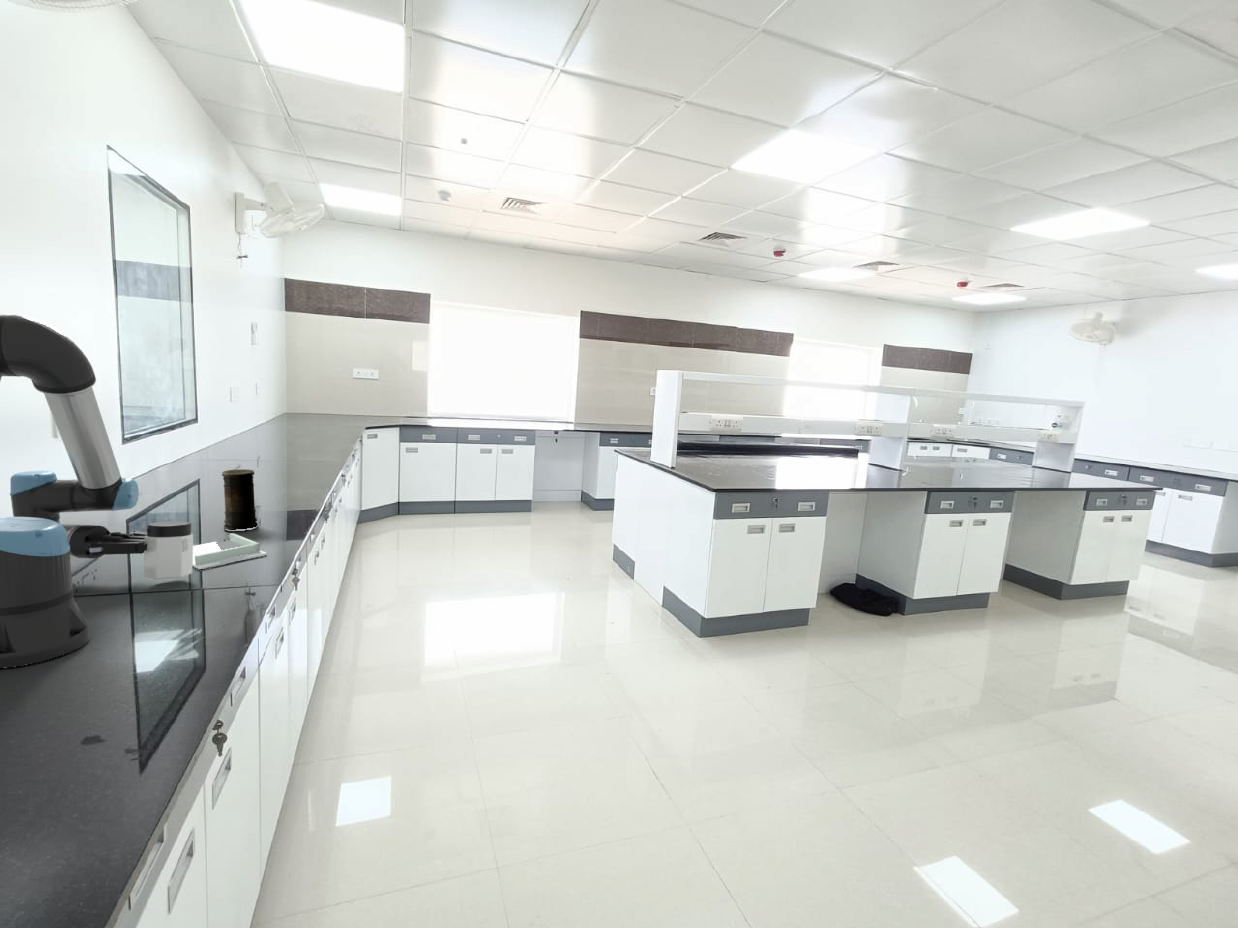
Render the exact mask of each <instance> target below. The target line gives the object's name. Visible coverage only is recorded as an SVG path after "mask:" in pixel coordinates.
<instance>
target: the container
mask: <svg viewBox="0 0 1238 928" xmlns="http://www.w3.org/2000/svg"><path fill="white" fill-rule="evenodd" d="M254 475H255V471H254V470H253V469H242V468H241V469H227V470H224V471H222V472H221V476H222V477H223V478H222V479H223V489H224V490H223V493H224V494H223V495H224V521H223V523H224V525H223V530H224V529H228V530H236V529H247V528H253V527H256V526H257V525H259V524H258V522H257V521H258V519H257V517H256V516H257V515H256V508H255V507H256V506H255V504H256V503H255V484H254V477H255V476H254ZM257 527H258V526H257Z"/></svg>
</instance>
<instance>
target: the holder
mask: <svg viewBox="0 0 1238 928" xmlns="http://www.w3.org/2000/svg"><path fill="white" fill-rule="evenodd" d="M228 536H229V538H228V539H230V541H233V542H235V543H238V544H240V545H242V546H240V547H235V548H230V549H225V550H221V549H220V547H219V546H218V544H216V543H217V542H216V541H212V542H207V543H202V544H197V545H196V544H195V545H193V566H194V567H196V568H198V569H202V568H206V567H209V566H212V565H215V564H219V563H220V562H219V561H226V558H230V557H234V556H240V555H245V554H248V556H247V557H251V556H258V555H264V554H267V555H268V553H267V552H266V551H263V550H261V543H260V542H256V541H254V540H251V539H250V538H246V537H244V536H241V535H239V534H237V533H235V532H231V533H228ZM249 554H250V555H249ZM244 558H246V555H245V557H244Z"/></svg>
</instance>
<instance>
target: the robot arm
mask: <svg viewBox="0 0 1238 928" xmlns="http://www.w3.org/2000/svg"><path fill="white" fill-rule="evenodd" d="M2 377H24V378H28V379H29V380H30V381H31V382H32V385H33V387H34V389H35V390H36V391H38V392H40V393H42V394H43V395H44V398H45V400H46V402H47V405H48V407H49V410H50V413H51V415H52V418H53V421H54V423H55V425H56V427H57V431H58V432H59V435H60V438H61V441H62V443H63V445H64V448H65V451H66V454H67V455H68V459H69V461H70V463H71V466H72V468H73V471H74V473H75V477H76V478H77V479H58V477H57V474H56V473H55V472H54V471H51V470H50V471H49V470H33V471H32V470H31V471H22V472H17V473H14V474H13V475H12V476H11V477H10V479H9V480H10V482H9V483H10V493H9V496H10V501H11V508H12V516H6V517H0V668H4V667H14V666H21V667H23V666H22V665H25V664H31V663H36V664H38V663H37V662H40V663H42V662H41V661H44V662H46V661H45V660H48V661H50V660H49V659H51V660H53V659H52V658H54V659H56V658H55V657H57V658H59V657H58V656H60V657H62V656H61V655H63V654H66V653H68V654H70V653H72V652H71V651H73V650H75V649H77V650H79V649H81V648H82V647H83V646H85V645H86V644H87V643H88V642H89V641H90V639H91V630H90V629H91V628H90V624H89V623H88V621H87V619H86V618H85V615H84V614H83V613H82V611H81V609H80V607H79V606H78V604H77V602H76V601H75V598H74V589H73V587H74V586H73V578H72V566H71V561H72V560H73V559H76V558H78V559H98V558H101V557H103V556H105V555H130V554H131V555H132V554H133V555H134V554H135V555H137V554H138V555H139V554H141V555H142V554H144V551H145V550H147V544H146V543H144V542H145V541H144V540H145V536H147V532H144V531H142V532H141V531H140V530H132V531H131V532H130V533H122V532H120V531H114V532H110V530H109V529H108V528H107V527H106V526H102V525H93V524H90V525H89V524H61V521H60V520H61V517H60V513H61V514H62V513H78V512H79V513H80V512H105V511H108V512H110V511H111V512H116V511H124V510H132V509H133V508H135V507H136V506H137V504H138V502H139V496H140V495H139V490H140V489H139V485H138V483H137V481H136V480H135V479H134V478H129V477H122V476H121V472H120V469H119V465H118V463H117V460H116V457H115V453H114V450H113V447H112V444H111V441H110V438H109V435H108V431H107V429H106V426H105V423H104V420H103V416H102V413H101V410H100V407H99V405H98V401H97V398H96V395H95V391H94V389H93V386H94V385H96V383H97V382H96V381H97V378H96V374H95V372H94V368H93V366H92V365H91V362H90V361H89V359H88V357H87V356H86V354H85V353H84V352H83V351H82V349H81V348H80V347H79V346H78V345H77V344H76V343H75V342H74V341H73V340H72V339H71V338H69V337H68V336H67V335H66V334H65V333H63V332H62V331H60V330H59V329H58V328H56V327H54V326H53V325H50V324H49V323H47V322H45V321H42V320H40V319H37V318H35V317H31V316H26V315H19V314H9V315H8V314H0V381H1V380H2ZM182 544H183V552H184V551H187V550H188V539H184V540H182ZM78 648H79V649H78ZM75 651H76V650H75ZM69 652H70V653H69ZM73 652H74V651H73ZM66 655H67V654H66ZM63 656H64V655H63ZM31 665H32V664H31ZM14 668H15V667H14ZM4 669H5V668H4Z"/></svg>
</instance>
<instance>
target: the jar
mask: <svg viewBox="0 0 1238 928" xmlns="http://www.w3.org/2000/svg"><path fill="white" fill-rule="evenodd" d="M146 533H147V536H145V540H144V541H145V542H144V543H146V544H147V550H145V551H144V553H143V578H148V579H153V580H164V579H165V580H167V579H174V578H175V579H178V578H179V579H180V578H184V577H186V576H188V575H192V574H193V567H192V566H193V546H194V534H193V533H192V523H191V522H188V521H160V522H151V523H148V524H147V527H146ZM184 539H188V550H187V551H184V552H183V544H182V540H184Z"/></svg>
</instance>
